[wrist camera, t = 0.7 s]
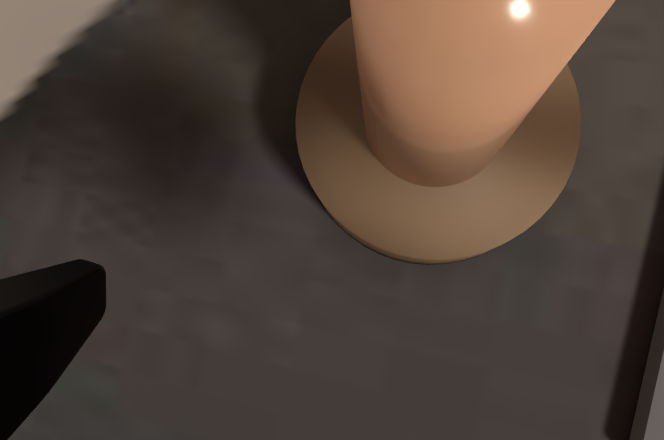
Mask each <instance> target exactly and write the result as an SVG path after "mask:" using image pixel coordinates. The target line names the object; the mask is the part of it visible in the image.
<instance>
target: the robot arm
mask: <svg viewBox="0 0 664 440" xmlns="http://www.w3.org/2000/svg"><path fill="white" fill-rule="evenodd" d="M105 309H106V272H105V269H104V268H103V267H102V266H101V265H99V264H96V263H93V262H90V261H87V260H83V259H78V260H73V261H70V262H66V263H62V264H58V265H54V266H50V267H46V268H43V269H39V270H35V271H31V272H27V273H23V274H19V275H16V276H12V277H8V278H4V279H0V440H7V439H8V438H9V437H10V436H11V435H12V434H13V433H14V432H15V430H16V429H17V428H18V427H19V426H20V425H21V424H22V422H23V421H24V420H25V419H26V418H27V417H28V416H29V415H30V413H31V412H32V411H33V410H34V409H35V408H36V407H37V405H38V404H39V403H40V402H41V401H42V399H43V398H44V397H45V396H46V395H47V394H48V392H49V391H50V390H51V388H52V387H53V386H54V384H55V383H56V382H57V380H58V379H59V378H60V376H61V375H62V373H63V372H64V371H65V369H66V368H67V366H68V365H69V364H70V362H71V361H72V360H73V358H74V357H75V355H76V354H77V353H78V351H79V350H80V348H81V347H82V346H83V344H84V343H85V341H86V340H87V339H88V337H89V336H90V334H91V333H92V332H93V330H94V329H95V327H96V326H97V325H98V323H99V322H100V320H101V319H102V317H103V315H104V312H105Z"/></svg>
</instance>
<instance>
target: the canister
mask: <svg viewBox="0 0 664 440" xmlns="http://www.w3.org/2000/svg"><path fill="white" fill-rule="evenodd" d="M614 1H615V0H350V7H351V15H352V24H353V32H354V41H355V50H356V58H357V67H358V75H359V84H360V92H361V101H362V110H363V118H364V127H365V132H366V137H367V140H368V143H369V145H370V147H371V150H372V152H373V153H374V155H375V156H376V158H377V159H378V160H379V162H380V163H381V164H382V165H383V166H384V167H385V168H386V169H387V170H388V171H390V172H391V173H392V174H394V175H395V176H397V177H398V178H400V179H402V180H404V181H406V182H409V183H412V184H415V185H420V186H425V187H445V186H451V185H455V184H458V183H461V182H464V181H466V180H468V179H470V178H472V177H473V176H475V175H477V174H478V173H480V172H481V171H482V170H483V169H484V168H486V167H487V166H488V164H489V163H490V162H491V161H492V160H493V159H494V157H495V156H496V155H497V154H498V152H499V151H500V150H501V148H502V147H503V146H504V144H505V143H506V142H507V141H508V139H509V138H510V137H511V135H512V134H513V133H514V131H515V130H516V129H517V128H518V126H519V125H520V124H521V122H522V121H523V120H524V118H525V117H526V116H527V115H528V113H529V112H530V111H531V109H532V108H533V107H534V105H535V104H536V103H537V102H538V100H539V99H540V98H541V96H542V95H543V94H544V92H545V91H546V90H547V89H548V87H549V86H550V85H551V83H552V82H553V81H554V80H555V78H556V77H557V76H558V74H559V73H560V72H561V70H562V69H563V68H564V67H565V65H566V64H567V63H568V61H569V60H570V59H571V57H572V56H573V55H574V54H575V52H576V51H577V50H578V48H579V47H580V46H581V44H582V43H583V42H584V41H585V39H586V38H587V37H588V35H589V34H590V33H591V31H592V30H593V29H594V28H595V26H596V25H597V24H598V22H599V21H600V20H601V18H602V17H603V16H604V15H605V13H606V12H607V11H608V9H609V8H610V7H611V5H612V4H613V3H614Z"/></svg>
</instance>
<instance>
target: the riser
mask: <svg viewBox="0 0 664 440" xmlns="http://www.w3.org/2000/svg"><path fill="white" fill-rule="evenodd" d="M580 137H581V111H580V101H579V97H578V93H577V89H576V85H575V81H574V79H573V77H572V74H571V72H570V69H569V67H568V65H567V64H566V65H565V67H564V68H563V69H562V70H561V72H560V73H559V74H558V76H557V77H556V78H555V80H554V81H553V82H552V83H551V85H550V86H549V87H548V89H547V90H546V91H545V92H544V94H543V95H542V96H541V98H540V99H539V100H538V102H537V103H536V104H535V105H534V107H533V108H532V109H531V111H530V112H529V113H528V115H527V116H526V117H525V118H524V120H523V121H522V122H521V124H520V125H519V126H518V128H517V129H516V130H515V131H514V133H513V134H512V135H511V137H510V138H509V139H508V141H507V142H506V143H505V144H504V146H503V147H502V148H501V150H500V151H499V152H498V154H497V155H496V156H495V157H494V159H493V160H492V161H491V162H490V163H489V164H488V166H487V167H486V168H484V169H483V170H482V171H481V172H480V173H478V174H477V175H475V176H473V177H472V178H470V179H468V180H466V181H464V182H461V183H458V184H455V185H451V186H445V187H425V186H420V185H415V184H412V183H409V182H406V181H404V180H402V179H400V178H398V177H397V176H395V175H394V174H392V173H391V172H390V171H388V170H387V169H386V168H385V167H384V166H383V165H382V164H381V163H380V162H379V160H378V159H377V158H376V156H375V155H374V153H373V152H372V150H371V147H370V145H369V143H368V140H367V137H366V132H365V127H364V118H363V110H362V101H361V92H360V84H359V75H358V67H357V58H356V50H355V41H354V32H353V24H352V16H351V17H350V18H349V19H347V20H346V21H345V22H344V23H343V24H341V25H340V26H339V27H338V28H337V29H336V30H335V31H334V32H333V33H332V34H331V35H330V36H329V37H328V38H327V39H326V41H325V42H324V44H323V45H322V46H321V48H320V49H319V50H318V52H317V53H316V55H315V57H314V58H313V60H312V62H311V64H310V66H309V67H308V70H307V72H306V75H305V77H304V80H303V82H302V85H301V89H300V93H299V97H298V101H297V109H296V139H297V146H298V152H299V156H300V159H301V162H302V166H303V169H304V171H305V174H306V176H307V178H308V180H309V182H310V184H311V186H312V188H313V190H314V191H315V193H316V194H317V196H318V198H319V199H320V201H321V202H322V204H323V205H324V207H325V208H326V210H327V212H328V213H329V215H330V216H331V217H332V218H333V219H334V221H335V222H336V223H337V224H338V225H339V226H340V227H341V228H342V229H343V230H344V231H345V232H346V233H347V234H348V235H349V236H350V237H352V238H353V239H354V240H356V241H357V242H359V243H360V244H362V245H363V246H365V247H366V248H368V249H370V250H372V251H374V252H376V253H378V254H380V255H383V256H386V257H389V258H391V259H394V260H399V261H403V262H407V263H414V264H425V265H432V264H447V263H453V262H459V261H463V260H466V259H469V258H472V257H476V256H478V255H480V254H482V253H485V252H487V251H489V250H491V249H493V248H495V247H497V246H500V245H502V244H504V243H506V242H508V241H510V240H511V239H513V238H514V237H516V236H518V235H519V234H521V233H522V232H524V231H525V230H527V229H528V228H529V227H530V226H531V225H533V224H534V223H535V222H536V221H537V220H539V219H540V218H541V217H542V216H543V214H544V213H545V212H546V211H547V210H548V209H549V208H550V207H551V206H552V205H553V203H554V202H555V200H556V199H557V197H558V196H559V194H560V193H561V191H562V190H563V188H564V186H565V184H566V182H567V180H568V178H569V176H570V174H571V172H572V169H573V166H574V163H575V160H576V157H577V154H578V148H579V143H580Z"/></svg>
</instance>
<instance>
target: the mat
mask: <svg viewBox="0 0 664 440" xmlns="http://www.w3.org/2000/svg"><path fill="white" fill-rule="evenodd" d="M629 440H664V288H663V292H662V297H661V301H660V306H659V310H658V314H657V319H656V323H655V328H654V332H653V336H652V341H651V345H650V350H649V354H648V359H647V363H646V367H645V372H644V376H643V381H642V385H641V389H640V394H639V398H638V403H637V407H636V412H635V416H634V420H633V425H632V429H631V434H630V438H629Z"/></svg>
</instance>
